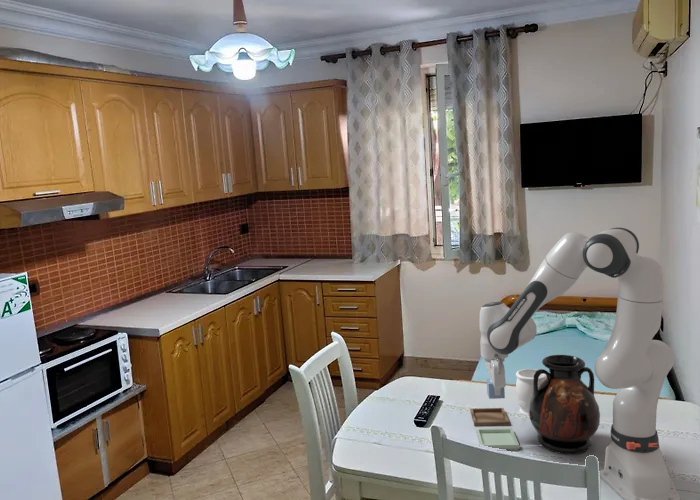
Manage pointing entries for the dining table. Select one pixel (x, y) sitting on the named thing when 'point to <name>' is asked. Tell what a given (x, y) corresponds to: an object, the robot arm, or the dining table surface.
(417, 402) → the dining table surface
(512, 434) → the sage tray
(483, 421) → the walnut tray
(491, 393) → the letter cube
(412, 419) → the dining table surface
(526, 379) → the jar
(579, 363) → the amphora vase
